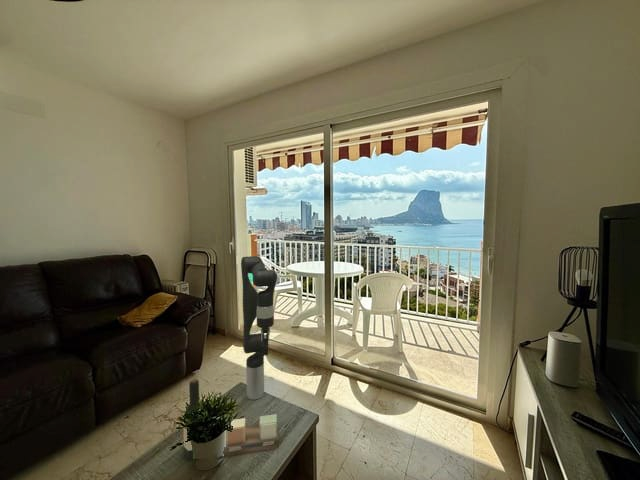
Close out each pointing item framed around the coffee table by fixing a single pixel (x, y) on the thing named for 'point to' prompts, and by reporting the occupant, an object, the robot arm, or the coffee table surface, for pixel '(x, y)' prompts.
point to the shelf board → (251, 443)
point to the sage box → (268, 427)
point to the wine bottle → (193, 405)
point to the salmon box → (237, 432)
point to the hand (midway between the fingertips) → (265, 350)
